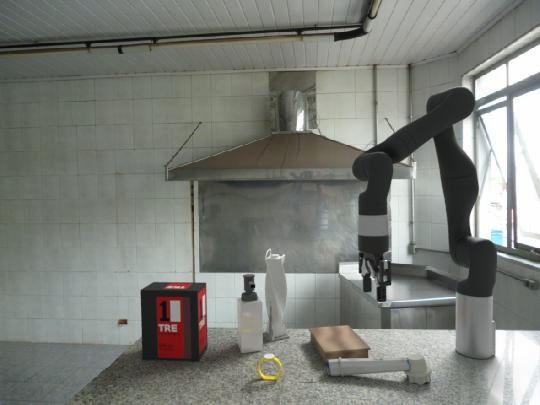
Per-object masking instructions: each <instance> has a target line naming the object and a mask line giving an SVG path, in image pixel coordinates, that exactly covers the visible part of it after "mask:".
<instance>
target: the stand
mask: <svg viewBox="0 0 540 405" xmlns="http://www.w3.org/2000/svg"><path fill="white" fill-rule="evenodd" d="M308 331H309V333H310V342H311V344H312V345H313V347H314V349H315V350H316V351H317V353H318V355H319V357H320V358H321V360H322V361H323V363H324V364H325V366H327V360H330V359H340V358H339V357H341V359H352V358H369V351H371V349H372V348H371V347H370V346H369V345H368V343H366V341H365V340H364V339H363V338H362V337H360V335H359V334H358V333H357V332H356V331H355V330H353V329H352V327H351V326H350V325H348V324H347V325H335V326H334V325H332V326H319V327H308Z"/></svg>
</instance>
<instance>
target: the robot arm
mask: <svg viewBox="0 0 540 405" xmlns="http://www.w3.org/2000/svg"><path fill="white" fill-rule="evenodd" d="M475 108H476V98H475V95H474V93H473V91H472V90H471V89H470V88H468V87H466V86H462V85H460V86H455V87H454V86H453V87H450V88H447V89H445V90H442V91H438V92H436V93H433V94H432V95H430V96H429V98H427V101H426V106H425V111H426V113H425V114H424V115H422V116H420V117H418V118H417V119H414V120H413V121H411V122H409V123H408V124H405V125H403V126H402V127H400V128H399V129H397V130H396V131H395V132H393V133H392V134H391V135H390V136H388V137H387V138H386V139H384V140H383V141H382V142H380V143H378V144H376V145H374V146H372V147H370V148H368V149H366V150H365V151H364V152H362V153H360V154H359V155H358V156H357V157H356V158H355V159H354V161H353V163H352V167H351V172H352V175H353V176H354V178H355V179H356V180H359V181H361V182H367V185H366V189H365V190H364V191H362V192H360V193H359V195H358V200H357V203H358V204H357V205H358V208H357V209H358V218H357V250H358V274H359V275H360V276H361V278H362V291H363V292H364V293H372V290H373V289H372V288H373V286H372V284H373V283H372V282H373V281H372V280H373V279H374V281H375V285H376V301H377V302H378V303H385V302H387V287H389V286H392V266H391V265H392V264H391V260H390V259H389V260H388V259H385V257H384V254H387V253H388V252H389V251H390V236H389V235H390V232H389V231H390V230H389V229H390V227H389V226H390V224H389V216H388V196H389V193H390V190H391V185H392V182H393V177H394V165H395V164H398V163H401V162H403V161H404V160H406V159H407V158H408V157H409V156H411V155H412V154H413V153H414V152H416V151H417V150H418V149H419V148H420V147H422V146H424V145H425V144H426V143H427V142H429V141H430V140H431V139H432V140H433V143H434V148H435V152H436V157H437V162H438V168H439V170H438V171H439V178H440V183H441V188H442V190H441V191H442V194H443V200H444V205H445V213H446V222H447V238H448V251H449V256H450V258H451V261H452V262H453V264H455V265H457V266H458V267H462V268H465V269H468V276H467V277H466V278H463V279H458V280H457V281H456V283H455V350H456V352H458V354H460V355H463V356H464V357H468V358H472V359H479V360H485V359H486V360H487V359H491V357H493V356H496V353H497V352H496V343H497V342H496V341H497V340H496V339H497V338H496V337H497V336H496V334H497V332H496V331H497V330H496V329H497V328H496V327H497V326H496V321H495V320H493V312H494V311H493V307H494V306H493V305H494V304H493V301H494V300H493V299H494V298H493V295H494V294H493V293H494V288H495V285H496V281H497V266H498V251H497V248H496V245H495V243H494V242H493V241H492V240H490V239H488V238H483V237H476V236H473V235H472V231H471V222H470V221H471V220H470V219H471V213H472V211H473V208H474V206H475V205H476V202H477V200H478V196H479V193H480V185H479V178H478V171H477V167H476V165H475V163H474V161H473V160H472V159H471V157H470V156H469V154H467V152H466V151H465V150H464V149H463V147H462V146H461V145H460V143H459V141H458V140H457V137H456V135H455V134H456V133H455V130H454V125H456V124H457V123H460V122H461V121H463V120H466V119H467V118H468V117H470V116H471V115H472V113H473V112H474V110H475Z"/></svg>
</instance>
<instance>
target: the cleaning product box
mask: <svg viewBox="0 0 540 405" xmlns="http://www.w3.org/2000/svg"><path fill="white" fill-rule="evenodd" d="M139 290H140V318H141V319H140V321H141V324H140V325H141V353H142V354H141V359H142V361H143V360H144V361H145V360H146V361H164V362H165V361H166V362H170V361H171V362H198V363H200V361H201V359H202V358H203V356H204V355H205V353H206V352H207V350H208V348H209V347H208V344H209V342H208V308H207V307H208V306H207V303H208V302H207V298H208V297H207V295H208V294H207V282H191V281H190V282H188V281H187V282H185V281H184V282H183V281H177V282H175V281H173V282H172V281H170V282H169V281H153V282H151V283H149V284H148V285H146V286H144V287H143V288H141V289H139Z"/></svg>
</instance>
